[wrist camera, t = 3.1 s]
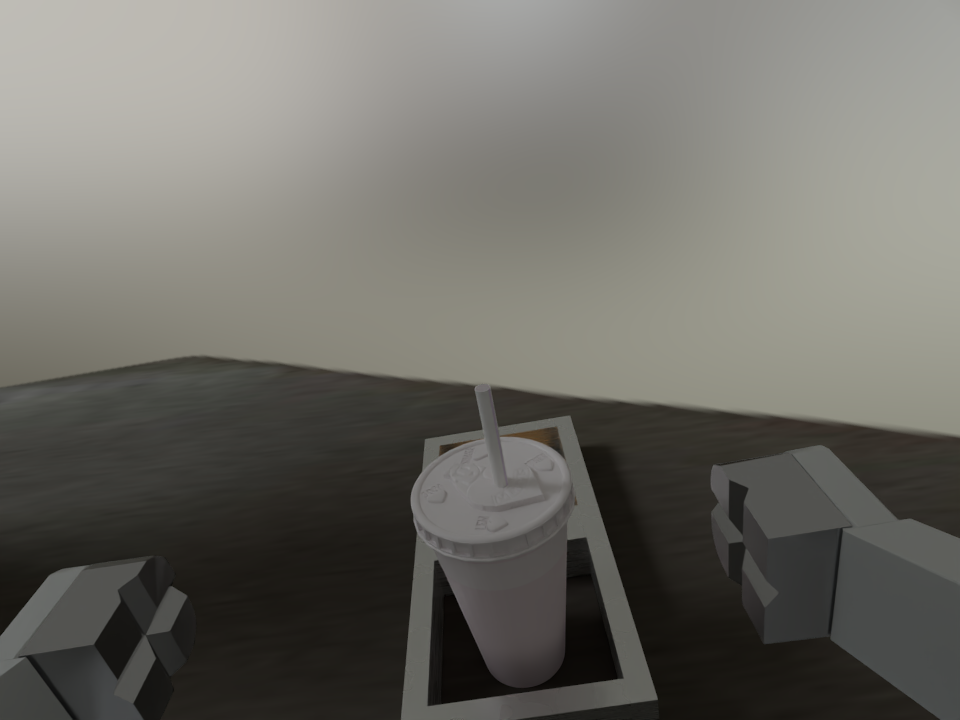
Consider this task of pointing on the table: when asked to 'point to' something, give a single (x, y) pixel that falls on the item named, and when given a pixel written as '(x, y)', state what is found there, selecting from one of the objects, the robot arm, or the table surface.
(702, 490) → the table surface
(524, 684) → the smoothie
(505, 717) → the cup holder
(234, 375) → the table surface
